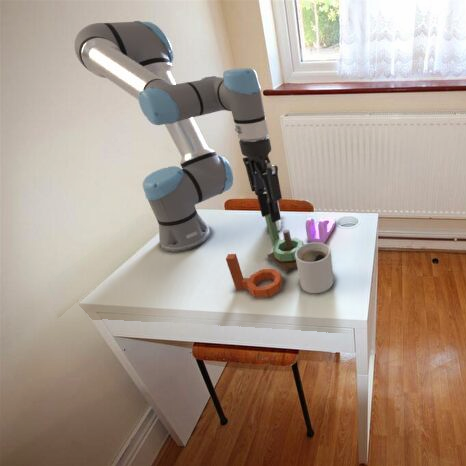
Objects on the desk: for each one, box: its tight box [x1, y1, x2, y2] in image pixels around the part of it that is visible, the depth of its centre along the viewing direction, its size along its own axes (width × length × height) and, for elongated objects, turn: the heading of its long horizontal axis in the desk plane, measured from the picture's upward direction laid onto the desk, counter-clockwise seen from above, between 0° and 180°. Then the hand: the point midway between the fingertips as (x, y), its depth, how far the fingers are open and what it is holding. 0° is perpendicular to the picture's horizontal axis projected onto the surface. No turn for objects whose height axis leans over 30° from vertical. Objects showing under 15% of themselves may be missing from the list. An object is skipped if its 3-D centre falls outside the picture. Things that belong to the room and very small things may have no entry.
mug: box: [295, 242, 335, 294], centre depth 85 cm, size 11×10×10 cm
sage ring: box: [264, 214, 304, 262], centre depth 94 cm, size 12×8×10 cm
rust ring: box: [225, 253, 283, 299], centre depth 84 cm, size 12×8×10 cm
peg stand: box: [266, 229, 298, 274], centre depth 94 cm, size 10×10×10 cm
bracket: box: [305, 217, 336, 244], centre depth 106 cm, size 13×6×7 cm, turn 163°
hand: (271, 217), depth 94 cm, fingers open, 4 cm apart
